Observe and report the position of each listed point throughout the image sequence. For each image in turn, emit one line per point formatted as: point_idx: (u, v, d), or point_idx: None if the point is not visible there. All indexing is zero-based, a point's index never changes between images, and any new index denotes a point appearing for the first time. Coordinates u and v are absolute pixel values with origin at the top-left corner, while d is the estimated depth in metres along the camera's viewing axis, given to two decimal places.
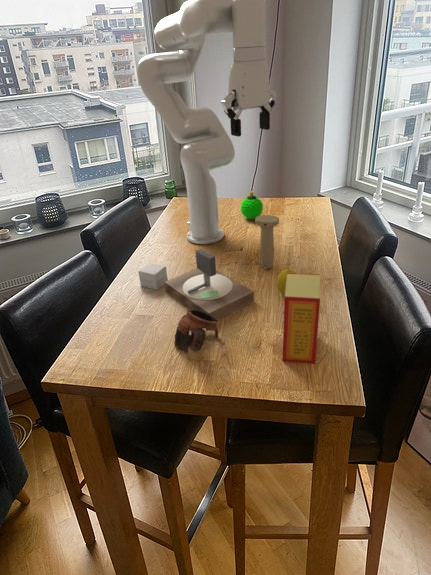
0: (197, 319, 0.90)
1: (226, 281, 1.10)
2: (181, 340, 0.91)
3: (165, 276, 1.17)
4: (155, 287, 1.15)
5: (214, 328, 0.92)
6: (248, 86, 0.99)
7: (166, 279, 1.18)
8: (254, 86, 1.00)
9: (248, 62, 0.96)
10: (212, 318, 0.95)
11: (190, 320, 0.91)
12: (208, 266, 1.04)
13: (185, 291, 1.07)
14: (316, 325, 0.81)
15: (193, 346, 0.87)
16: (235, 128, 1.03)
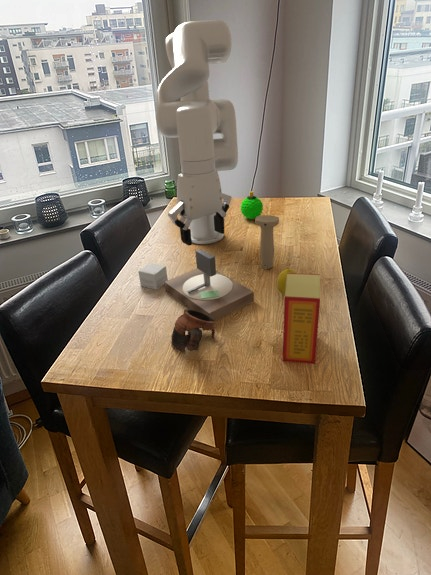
0: (194, 319, 0.90)
1: (226, 281, 1.10)
2: (178, 340, 0.91)
3: (165, 276, 1.17)
4: (155, 287, 1.15)
5: (211, 328, 0.92)
6: (196, 198, 0.93)
7: (166, 279, 1.18)
8: (203, 197, 0.94)
9: (195, 175, 0.90)
10: (209, 318, 0.95)
11: (187, 320, 0.91)
12: (208, 266, 1.04)
13: (185, 291, 1.07)
14: (316, 325, 0.81)
15: (190, 346, 0.88)
16: (185, 238, 0.97)
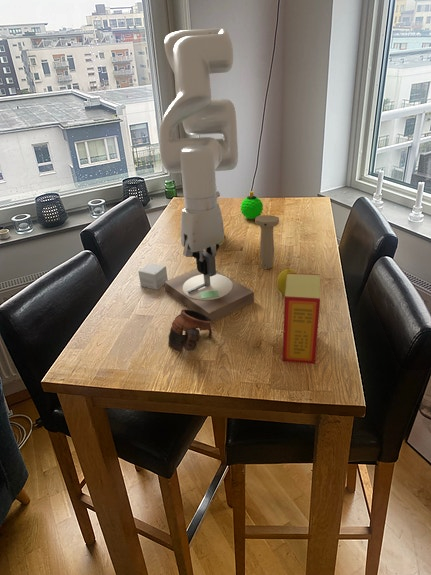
0: (191, 319, 0.90)
1: (226, 281, 1.10)
2: (175, 340, 0.91)
3: (165, 276, 1.17)
4: (155, 287, 1.15)
5: (208, 327, 0.92)
6: (199, 232, 0.97)
7: (166, 279, 1.18)
8: (206, 230, 0.98)
9: (198, 212, 0.95)
10: (206, 318, 0.96)
11: (184, 320, 0.91)
12: (208, 266, 1.04)
13: (185, 291, 1.07)
14: (316, 325, 0.81)
15: (187, 346, 0.88)
16: (201, 268, 1.04)
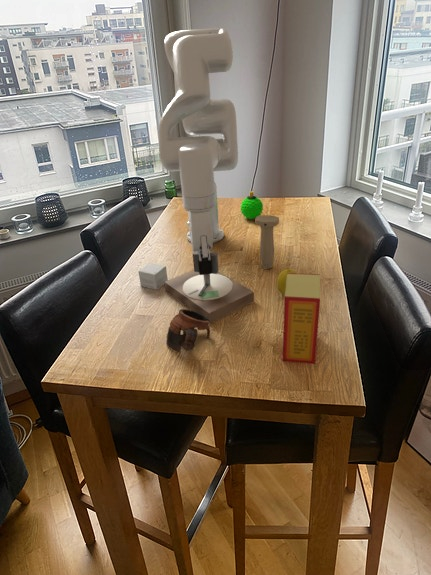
0: (189, 318, 0.90)
1: (226, 281, 1.10)
2: (173, 340, 0.91)
3: (165, 276, 1.17)
4: (155, 287, 1.15)
5: (206, 327, 0.92)
6: None
7: (166, 279, 1.18)
8: None
9: (211, 207, 0.96)
10: (204, 317, 0.96)
11: (182, 320, 0.91)
12: (212, 264, 1.04)
13: (185, 291, 1.07)
14: (316, 325, 0.81)
15: (185, 345, 0.88)
16: (208, 268, 1.03)
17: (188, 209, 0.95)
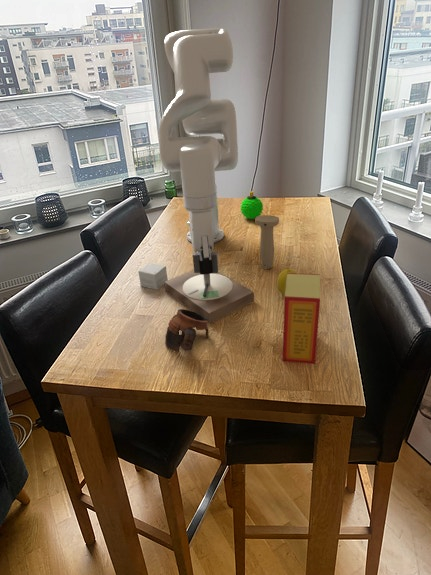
0: (187, 318, 0.91)
1: (226, 281, 1.10)
2: (172, 340, 0.91)
3: (165, 276, 1.17)
4: (155, 287, 1.15)
5: (204, 327, 0.92)
6: None
7: (166, 279, 1.18)
8: None
9: (212, 207, 0.96)
10: (202, 317, 0.96)
11: (180, 320, 0.91)
12: (213, 263, 1.04)
13: (185, 291, 1.07)
14: (316, 325, 0.81)
15: (184, 345, 0.88)
16: (209, 267, 1.04)
17: (189, 209, 0.95)
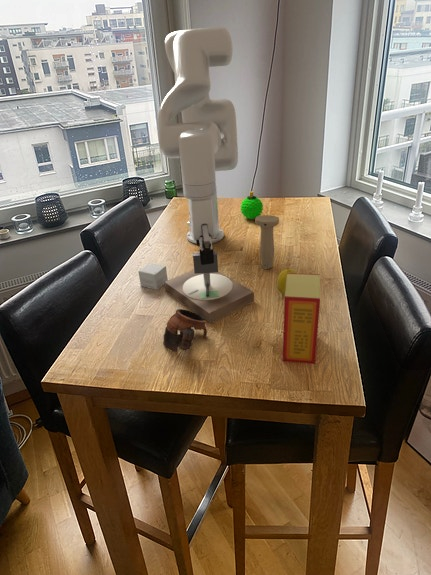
0: (186, 318, 0.91)
1: (226, 281, 1.10)
2: (170, 340, 0.91)
3: (165, 276, 1.17)
4: (155, 287, 1.15)
5: (203, 327, 0.93)
6: None
7: (166, 279, 1.18)
8: None
9: (212, 195, 0.94)
10: (200, 317, 0.96)
11: (179, 320, 0.91)
12: (214, 263, 1.05)
13: (185, 291, 1.07)
14: (316, 325, 0.81)
15: (182, 345, 0.88)
16: None
17: (189, 197, 0.94)
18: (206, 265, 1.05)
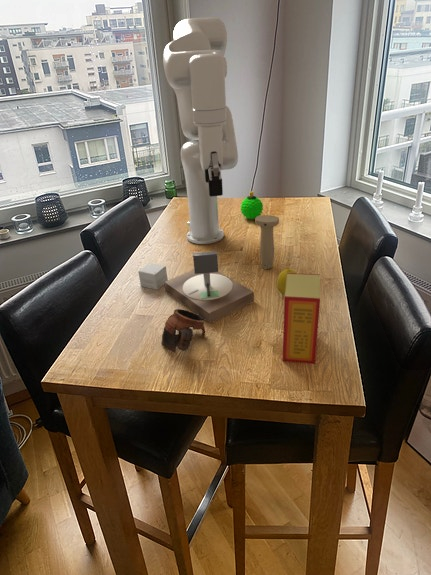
0: (184, 318, 0.91)
1: (226, 281, 1.10)
2: (168, 339, 0.92)
3: (165, 276, 1.17)
4: (155, 287, 1.15)
5: (201, 327, 0.93)
6: None
7: (166, 279, 1.18)
8: None
9: (222, 122, 0.94)
10: (199, 317, 0.96)
11: (177, 319, 0.91)
12: (214, 263, 1.05)
13: (185, 291, 1.07)
14: (316, 325, 0.81)
15: (180, 345, 0.88)
16: (219, 188, 1.00)
17: (198, 124, 0.94)
18: (206, 265, 1.05)
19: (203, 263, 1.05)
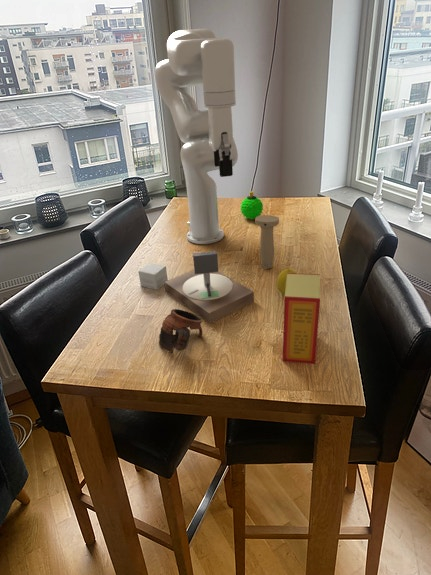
0: (181, 318, 0.91)
1: (226, 281, 1.10)
2: (165, 339, 0.92)
3: (165, 276, 1.17)
4: (155, 287, 1.15)
5: (198, 327, 0.93)
6: None
7: (166, 279, 1.18)
8: None
9: (232, 104, 0.99)
10: (196, 317, 0.96)
11: (174, 319, 0.91)
12: (214, 262, 1.05)
13: (185, 291, 1.07)
14: (316, 325, 0.81)
15: (178, 345, 0.88)
16: None
17: (209, 106, 0.99)
18: (206, 265, 1.05)
19: (203, 263, 1.05)
